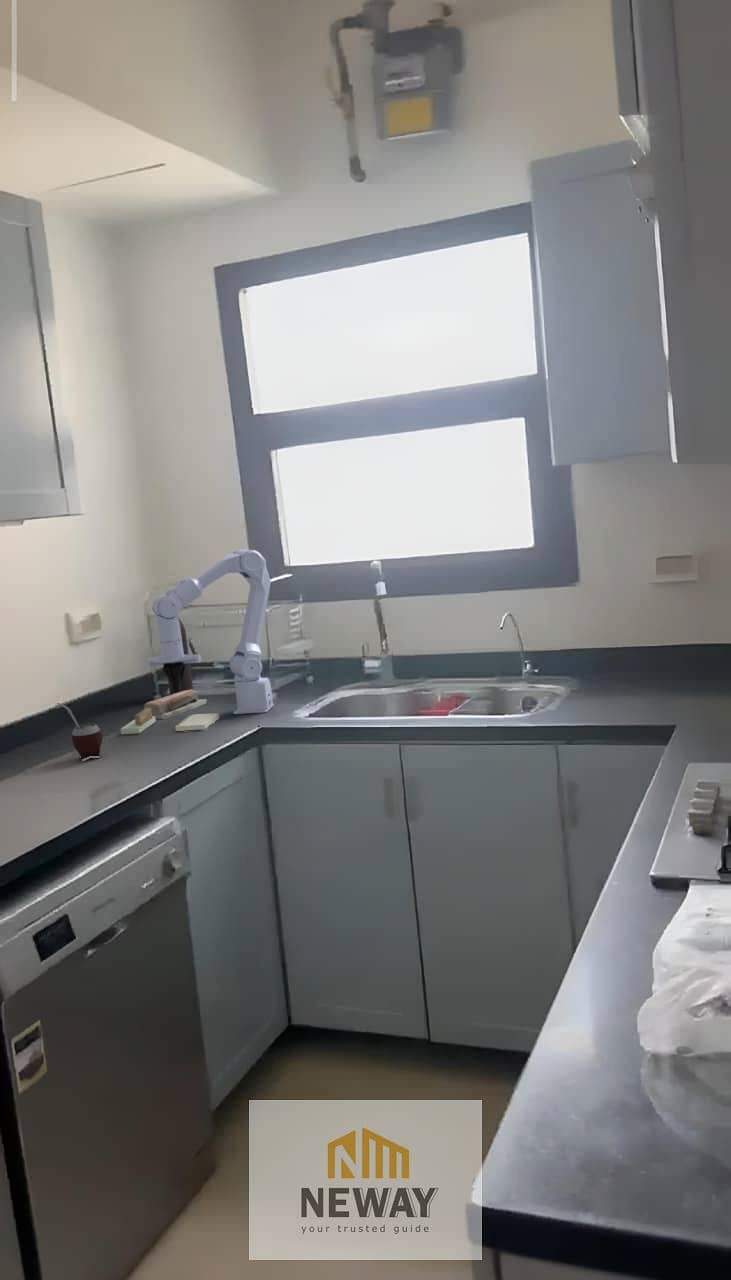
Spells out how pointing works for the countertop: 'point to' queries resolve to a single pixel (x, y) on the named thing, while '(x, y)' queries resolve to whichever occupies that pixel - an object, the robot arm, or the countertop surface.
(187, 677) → the wine bottle
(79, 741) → the mate gourd
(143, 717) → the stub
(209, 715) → the block
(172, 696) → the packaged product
